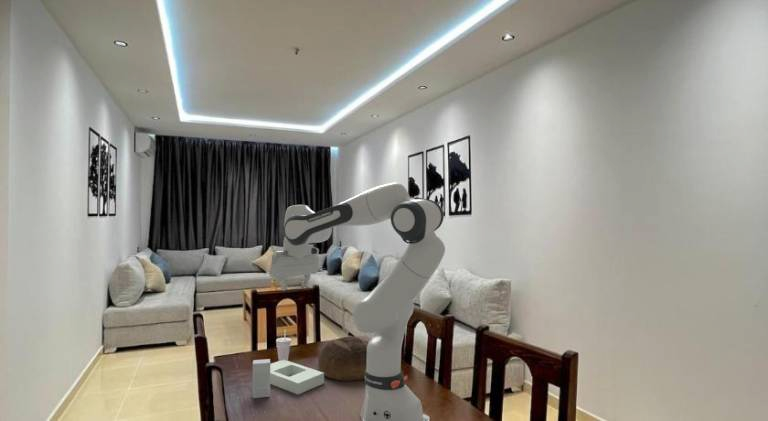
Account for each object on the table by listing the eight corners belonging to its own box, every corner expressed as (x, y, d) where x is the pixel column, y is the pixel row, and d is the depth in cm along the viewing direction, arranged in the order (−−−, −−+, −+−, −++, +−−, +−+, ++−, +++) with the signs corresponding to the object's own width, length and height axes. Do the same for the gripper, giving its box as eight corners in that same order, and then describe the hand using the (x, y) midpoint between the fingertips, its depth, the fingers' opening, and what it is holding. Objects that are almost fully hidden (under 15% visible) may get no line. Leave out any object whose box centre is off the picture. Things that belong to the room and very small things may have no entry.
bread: (362, 356, 198) (362, 326, 198) (394, 375, 176) (395, 342, 176) (308, 365, 185) (308, 334, 184) (336, 388, 162) (336, 352, 162)
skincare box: (270, 392, 157) (270, 358, 157) (270, 397, 153) (270, 362, 153) (252, 393, 155) (252, 359, 155) (251, 398, 151) (252, 364, 151)
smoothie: (287, 365, 184) (287, 332, 184) (272, 364, 185) (273, 330, 185) (293, 360, 190) (293, 328, 190) (279, 359, 192) (280, 326, 192)
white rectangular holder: (323, 383, 166) (324, 372, 166) (297, 394, 155) (298, 383, 155) (283, 369, 180) (283, 359, 180) (256, 378, 169) (257, 368, 169)
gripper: (278, 252, 147) (277, 293, 147) (322, 249, 163) (320, 286, 164) (266, 250, 151) (265, 291, 151) (310, 247, 167) (309, 283, 167)
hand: (294, 288), depth 157 cm, fingers open, 8 cm apart
